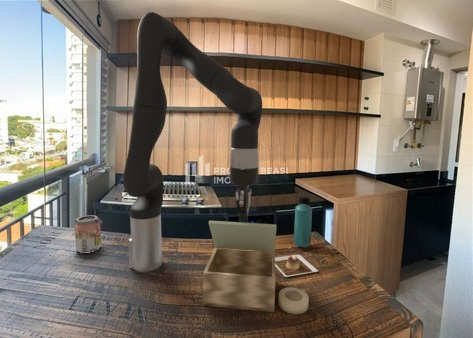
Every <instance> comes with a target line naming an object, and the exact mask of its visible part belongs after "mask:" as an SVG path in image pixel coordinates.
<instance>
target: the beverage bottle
mask: <svg viewBox="0 0 473 338" xmlns="http://www.w3.org/2000/svg"><path fill="white" fill-rule="evenodd" d="M310 200H311V199H310V197H309V196H305V195H300V196H299V197H298V203H299V204H298V205H296V206H295V208H294V209H295V210H294V213H295V214H294V225H293V227H294V228H293V230H294V231H293V244H294V245H295V246H297V247H299V248H300V247H301V248H307V247H310V246H311V244H312V242H311V240H312V223H313V222H312V218H313V217H312V216H313V208H312V207H311V206H310V205H308V204H311V203H310Z"/></svg>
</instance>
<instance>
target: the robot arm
mask: <svg viewBox="0 0 473 338" xmlns="http://www.w3.org/2000/svg"><path fill="white" fill-rule="evenodd" d="M138 23H139V24H138V28H137V38H136V39H137V41H136V47H137V49H136V51H137V52H136V53H137V54H136V55H137V57H136V58H137V63H136V65H137V66H136V79H135V92H134V100H133V107H132V108H133V109H132V118H131V119H132V120H131V123H132V124H131V130H130V137H129V145H128V151H127V156H126V161H125V165H124V171H123V175H122V184H123V188H124V191H125V192H126V193H127V195H128V196H130V197H131V198H136V200H135V201H134V202H133V204H132V205H131V206H130V208H129V220H130V222H129V223H130V238H129V240H128V254H129V255H128V259H129V269H131V268H132V270H133V271H136V272H139V273H147V272H152V271H156V270H157V269H159V268H160V267H161V266H162V265H163V255H162V254H163V252H162V249H163V248H162V219H161V218H162V216H161V210H162V207H163V203H164V176H163V173H162V170H161V169H160V168H159V166H157V165H156V164H153V163H151V157H152V154H153V153H152V152H153V150H154V148H155V145H156V143H157V142H158V140H159V138H160V136H161V134H162V132H163V131H164V127H165V124H166V118H167V111H168V110H167V108H168V99H167V94H166V91H165V85H164V83H163V80H162V75H161V61H162V56H166V57H168V58H171V59H172V60H174V61H176V62H178V63H179V64H181V65H182V66H183V67H185V68H186V69H187V71H188V72H189V73H190V75H192V76H193V78H194V79H195V80H196V81H197V82H198V83H199V84H200V85H202V86H204V88H206V89H207V90H208V91H210V92H211V93H212V94H214V95H215V96H216V97H217V98H218V99H219V101H220V102H221V103H222V104H223V105H224V106H225V107H226V108H227V109H228V110H230V111H231V112H233V113H234V114H235V115H237V116H236V117H237V118H236V124H235V125H234V126H233V127H232V128H231V133H230V134H231V135H230V153H229V154H230V155H229V182H230V184H232V185H237V186H238V187H237V188H236V190H235V198H236V201H235V204H236V212H237V213H236V214H237V216H238V222H241V223H248V219H249V218H248V216H249V209H250V205H251V195H252V188H250V186H252V185H253V186H254V185H257V184H258V182H259V161H260V160H259V156H260V155H259V150H258V149H259V128H260V124H261V120H262V119H261V118H262V114H263V99H262V95H261V94H260V92H259V91H258V90H256V89H255V88H252V87H250V86H248V85H245V84H244V83H242V82H241V81H240V80H238V79H237V78H235V76H234V74H233V73H232V72H231V71H229V70H228V69H227V68H226V67H224V66H223V65H221V64H220V63H219V62H217V60H215V59H214V58H212V57H211V56H209V55H208V54H206V53H205V52H203V51H202V50H200V49H199V48H198V47H197V46H196V45H195V44H193V43H192V42H191V40H189V39H188V38H187V36H186V35H185V34H184V33H183V32H182V31H181V30H180V29H179V28H178V27H177V25H176V24H175V23H174V22H172V21H170V20H168V19H167V18H166V17H164V16H162V15H160V14H158V13H157V12H154V11H153V12H152V11H151V12H147V13H145V14H144V15H143V16H142V17H141V19H140V21H139V22H138Z"/></svg>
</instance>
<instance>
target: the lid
mask: <svg viewBox="0 0 473 338" xmlns="http://www.w3.org/2000/svg"><path fill="white" fill-rule="evenodd" d="M208 226H209V230H210V235H211V239H212V242H213V245H214V249H215V248H216V249H229V250H243V251H257V252H271V253H275V249H276V248H275V247H276V235H277V224H274V223H273V224H270V223H254V222H247V223H241V222H239V221H238V222H237V221H223V220H209V221H208Z"/></svg>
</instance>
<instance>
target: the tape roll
mask: <svg viewBox="0 0 473 338" xmlns="http://www.w3.org/2000/svg"><path fill="white" fill-rule="evenodd" d="M309 299H310V298H309V295H308V294H307V292H305V291H304V290H302V289H300V288H297V287H290V286H289V287H285V288H284V287H283V288H282V289H281V290H280V291H279V292H278V306H279V308H280V309H281V310H283V311H284V312H286V313H289V314H292V315H301V314H304V313H306V312H307V311H308V309H309Z"/></svg>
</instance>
